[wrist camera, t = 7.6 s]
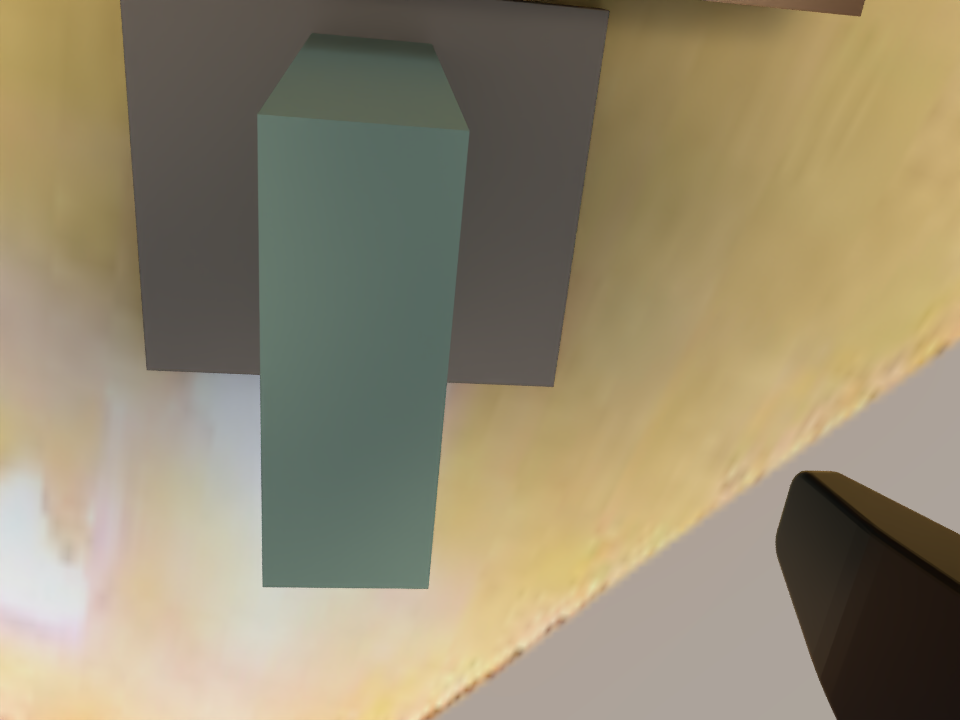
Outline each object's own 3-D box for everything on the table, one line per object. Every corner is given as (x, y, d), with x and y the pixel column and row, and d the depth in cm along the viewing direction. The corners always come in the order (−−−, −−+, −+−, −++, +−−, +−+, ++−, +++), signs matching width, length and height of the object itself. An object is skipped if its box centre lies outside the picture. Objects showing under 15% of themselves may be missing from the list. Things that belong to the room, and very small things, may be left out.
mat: (603, 8, 19) (609, 11, 19) (549, 376, 23) (553, 386, 23) (125, -39, 18) (117, -38, 17) (152, 359, 22) (146, 369, 21)
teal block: (431, 43, 19) (470, 130, 11) (411, 344, 22) (428, 588, 14) (311, 33, 18) (257, 114, 10) (307, 339, 21) (262, 587, 13)
